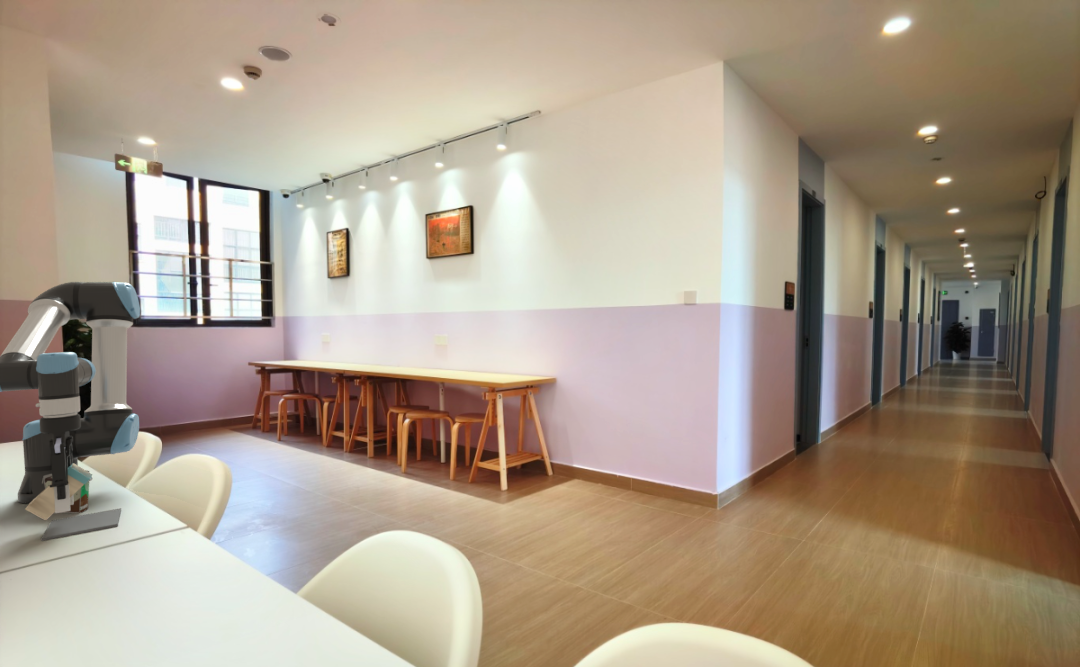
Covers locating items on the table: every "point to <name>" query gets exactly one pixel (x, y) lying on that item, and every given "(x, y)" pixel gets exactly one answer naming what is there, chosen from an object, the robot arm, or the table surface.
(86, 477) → the maple block
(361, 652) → the table surface
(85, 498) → the food container
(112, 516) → the charcoal mat
